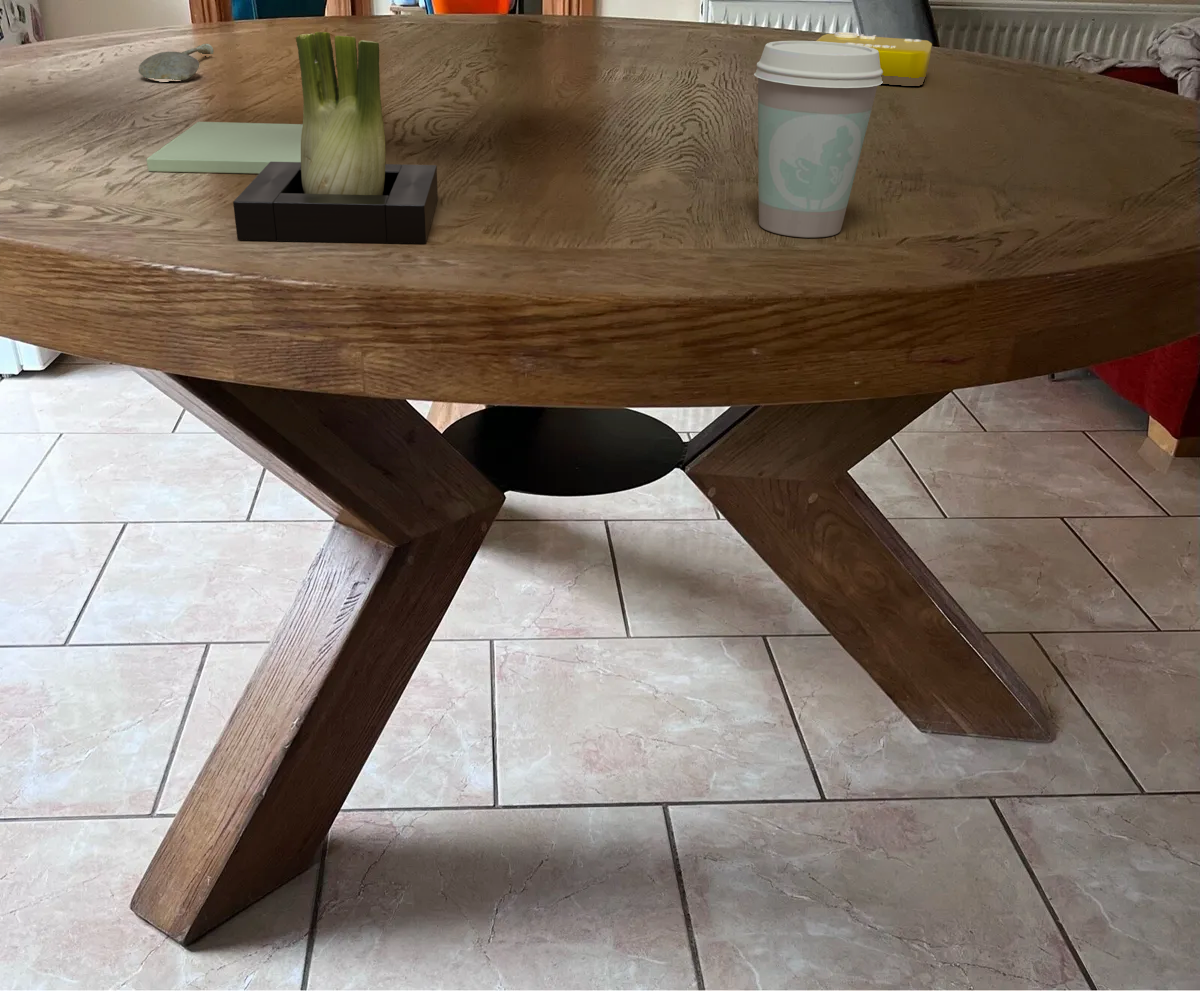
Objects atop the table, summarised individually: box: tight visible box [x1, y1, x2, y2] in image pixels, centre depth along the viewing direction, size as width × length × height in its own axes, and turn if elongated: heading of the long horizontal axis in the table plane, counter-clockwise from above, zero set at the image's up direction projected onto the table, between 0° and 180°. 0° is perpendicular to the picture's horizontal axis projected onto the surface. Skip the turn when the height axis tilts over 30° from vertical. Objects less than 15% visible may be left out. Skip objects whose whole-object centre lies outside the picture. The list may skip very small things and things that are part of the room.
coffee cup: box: [753, 40, 883, 239], centre depth 77 cm, size 9×9×12 cm
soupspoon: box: [137, 43, 215, 81], centre depth 135 cm, size 22×3×7 cm
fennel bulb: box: [295, 31, 387, 195], centre depth 75 cm, size 6×5×12 cm
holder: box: [232, 162, 439, 245], centre depth 77 cm, size 12×12×2 cm
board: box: [145, 121, 303, 175], centre depth 95 cm, size 16×16×1 cm
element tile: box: [815, 31, 933, 78], centre depth 150 cm, size 15×15×5 cm
